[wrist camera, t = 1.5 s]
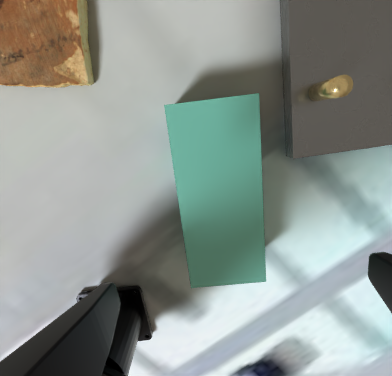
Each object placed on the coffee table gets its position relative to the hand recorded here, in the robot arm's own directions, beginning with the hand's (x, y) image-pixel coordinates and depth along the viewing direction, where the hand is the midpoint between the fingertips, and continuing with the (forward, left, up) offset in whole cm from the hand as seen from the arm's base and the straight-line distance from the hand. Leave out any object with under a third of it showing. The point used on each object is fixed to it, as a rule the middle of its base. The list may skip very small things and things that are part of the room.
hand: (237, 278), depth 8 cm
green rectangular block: (0, 0, -13) cm, 13 cm away
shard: (+12, +12, -13) cm, 21 cm away
